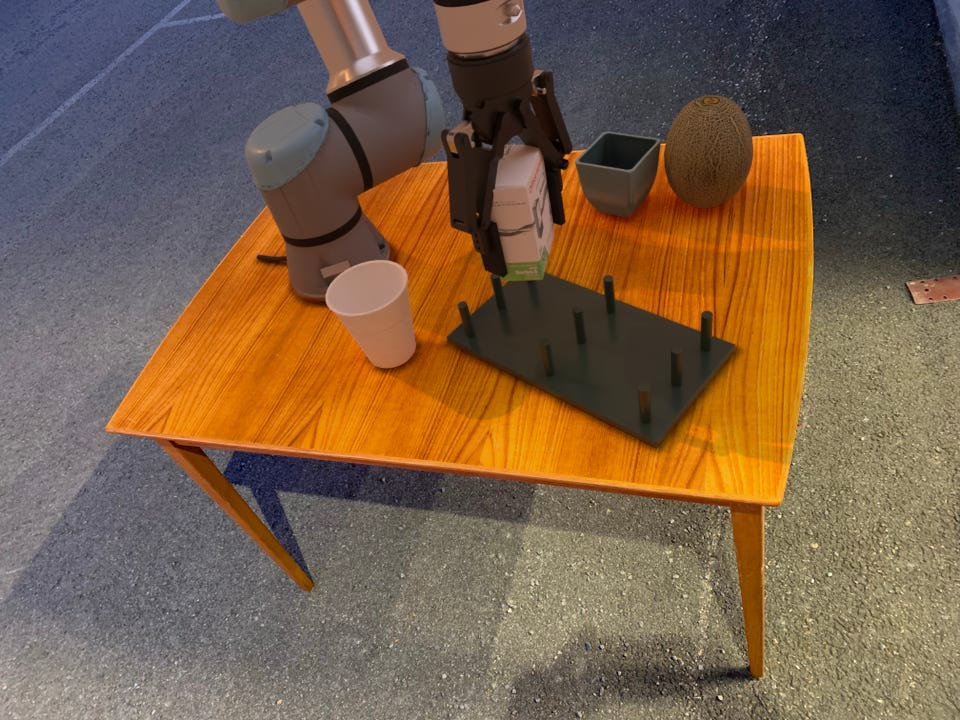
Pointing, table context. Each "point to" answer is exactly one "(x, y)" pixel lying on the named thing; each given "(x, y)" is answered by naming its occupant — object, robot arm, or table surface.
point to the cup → (375, 310)
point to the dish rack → (595, 351)
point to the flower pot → (618, 172)
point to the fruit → (708, 151)
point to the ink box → (523, 212)
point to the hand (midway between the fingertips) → (526, 245)
